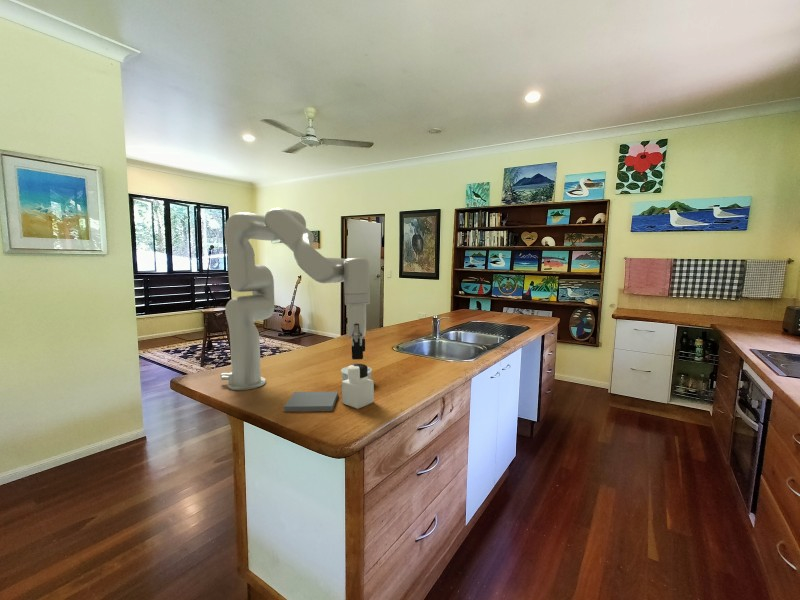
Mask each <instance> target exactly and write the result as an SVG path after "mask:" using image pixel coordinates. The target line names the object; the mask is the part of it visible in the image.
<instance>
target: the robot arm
mask: <svg viewBox="0 0 800 600" xmlns="http://www.w3.org/2000/svg"><path fill="white" fill-rule="evenodd" d="M223 230H224V231H223V233H224V239H225V245H226V246H225V247H226V251H227V270H228V283H229V284H228V285H229V286H230V288H231V290H233V291H234V292H236V293H250V292H251V293H252V295H250V294H249V295H248V294H247V295H239V296H236V297H233V298H230V300H229V301H227V303H226V305H225V309H224V310H225V316H226V317H225V318H226V320H227V321H226V322H227V325H228V330H229V343H230V344H229V345H230V366H231V367H230V369H231V372H229V373H228V372H222V373H221V374H220V381H228V382H227V384H226V385H227V388H228V389H230V390H233V391H246V390H253V389H256V388H260V387H262V386H264V385H265V384H266V382H267V381H266V379H267V378H265V377H263V376H262V369H261V367H262V366H261V344H260V343H261V342H260V333H259V330H258V328H257V326H256V324H255V322H258V321H263V320H268V319H269V318H271V317H272V316H273V314H274V312H275V304H276V303H275V281H274V280H275V279H274V276H273V273H272V271H271V270H270V268H269V267H267V266H265V265H263V264H256V260H255V259H256V257H255V250H254V248H253V246H252V244H251V242H250V241H249V240H260V241H278V240H280V242H282V243H283V244H284V245H285V246H286V247H287V248H288V249H289V250H290V251H292V252H293V257H294V260H295V262H296V264H297V265H298V266H299V269H301V270H302V271H303V272H304V273H305V274H307V276H309V277H310V278H311V279H312V280H314V281H315V282H318V283H320V284H333V283H335V284H336V283H343V289H344V292H343V293H344V305H345V306H347V338H348V339H351V359H352V360H363V359H364V352H365V351H366V338H365V336H366V332H367V305H370V304H371V296H370V295H371V293H370V262H369V260H368V259H367V258H365V257H349V258H341V257H325V256H324V255H322V254H321V253H320V252H318V250H316V248H315V247H314V246H313V243H314V241H315V237H314V233H313V232H312V231H311V230H310V229H308V228H307V221H306V218H305V217H304V216H303V215H302V213H300V212H298V211H296V210H290V209H287V208H281V207H276V208H275V207H274V208H271V209H269V210H268V211H267V212H266V213H265V215H263V214H262V215H261V214H257V213H254V212H253V213H252V212H243V211H242V212H236V213H234V214H232V215H231V216H229V217H228V218H227V220H226V222H225V225H224V229H223Z"/></svg>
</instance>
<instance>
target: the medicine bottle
mask: <svg viewBox="0 0 800 600" xmlns="http://www.w3.org/2000/svg"><path fill="white" fill-rule="evenodd" d="M348 366H349V367H348ZM348 366H347V367H348V379H347V380H344V381H343V380H342V381H341V403H342V404H343V405H346V406H349V407H351V408H354V409H357V410H359V409H361V408H364V407H366V406H368V405H370V404H373V403H374V402H375V393H374V392H375V391H374V390H375V389H374V388H375V386H374V385H375V384H374V383H375V382H374V381H375V380H373V379H372V378H371V379H367V378H368V367H369V366H368V365H366V364H364V363H352V364H350V365H348Z"/></svg>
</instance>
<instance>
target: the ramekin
mask: <svg viewBox="0 0 800 600" xmlns="http://www.w3.org/2000/svg"><path fill="white" fill-rule="evenodd" d="M349 366H350V365H348V366H345V367H343V368H341V369H340V374H341V379H342V381H344V380H347V379H348V367H349ZM367 367H368V378H367V379H371V380H372V373H373V368H372V367H369V366H367Z"/></svg>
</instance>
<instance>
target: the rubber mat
mask: <svg viewBox="0 0 800 600" xmlns="http://www.w3.org/2000/svg"><path fill="white" fill-rule="evenodd" d="M338 397H339V391H337V390H336V391H294V392H293V394H292V395H291V396H290V398H289V399H288V400H287V402H286V403H285V404H284V406H283V412H285V413H286V412H332V411H333V410H334V408H335V405H336V403H337V400H338Z"/></svg>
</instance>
